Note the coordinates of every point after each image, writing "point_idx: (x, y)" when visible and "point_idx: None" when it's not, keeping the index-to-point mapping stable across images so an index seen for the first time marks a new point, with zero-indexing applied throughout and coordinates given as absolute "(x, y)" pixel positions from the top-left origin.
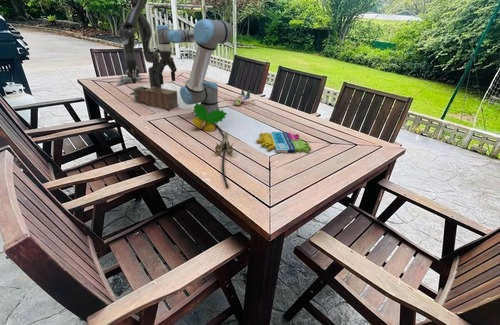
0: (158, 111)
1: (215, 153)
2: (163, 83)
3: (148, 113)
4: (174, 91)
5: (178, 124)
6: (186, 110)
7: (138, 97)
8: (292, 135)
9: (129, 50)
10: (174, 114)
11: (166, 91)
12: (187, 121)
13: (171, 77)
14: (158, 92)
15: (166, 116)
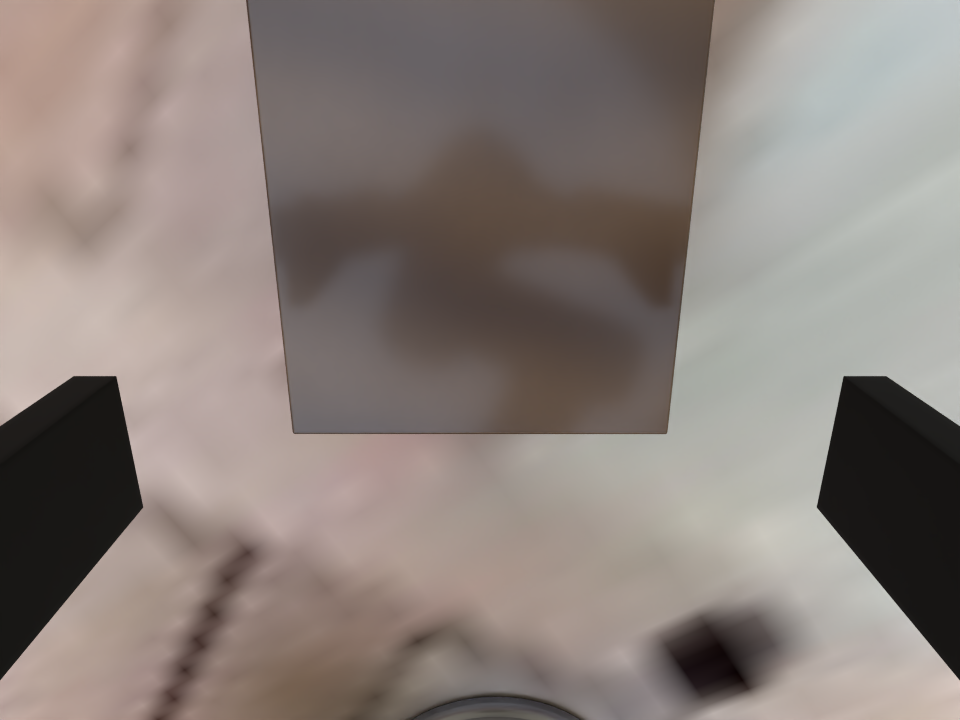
0: (198, 224)
1: None
2: (125, 526)
3: (20, 153)
4: (596, 417)
5: (23, 692)
6: (483, 525)
7: None
8: None
9: None
10: (248, 489)
11: (482, 261)
12: (159, 717)
13: (920, 445)
14: (268, 149)
15: None
